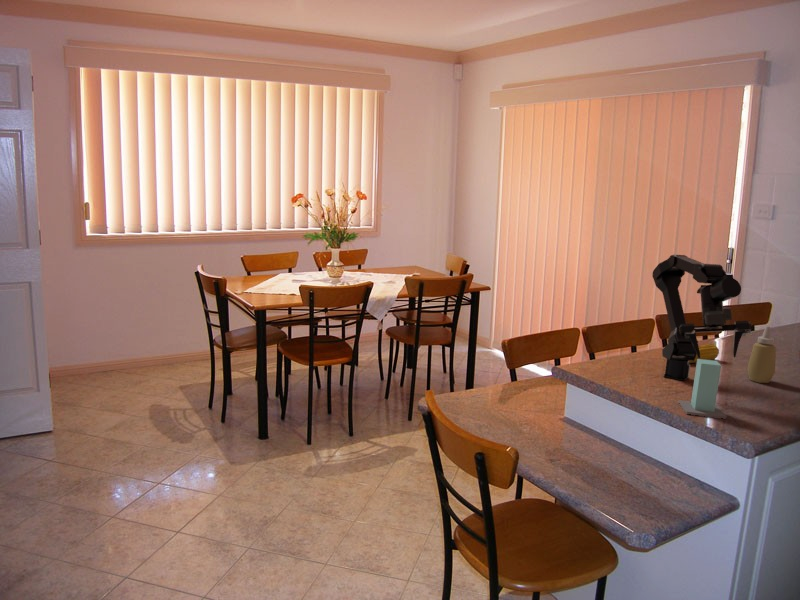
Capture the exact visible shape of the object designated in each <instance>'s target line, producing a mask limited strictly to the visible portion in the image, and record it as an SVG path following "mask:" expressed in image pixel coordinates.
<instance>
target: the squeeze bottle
mask: <svg viewBox="0 0 800 600" xmlns="http://www.w3.org/2000/svg"><path fill="white" fill-rule="evenodd" d="M771 333H772V332H771V327H770V326H765V327H764V330H763V333H762V335H760V336H758V337H757V342H755V343H754V344H753V346H752V350H751V354H750V357H749V359H748V365H747V374H748V377H749V380H751V381H752V382H755V383H759V384H769V383H770V382H771V381H772V379H773V378H774V375H775V373H776V363H777V362H776V361H777V360H776V358H777V346H775V345H774V344H775V339H774V337H772V334H771Z"/></svg>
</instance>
